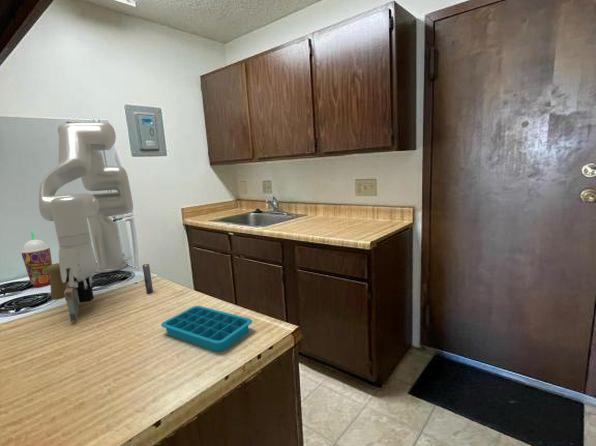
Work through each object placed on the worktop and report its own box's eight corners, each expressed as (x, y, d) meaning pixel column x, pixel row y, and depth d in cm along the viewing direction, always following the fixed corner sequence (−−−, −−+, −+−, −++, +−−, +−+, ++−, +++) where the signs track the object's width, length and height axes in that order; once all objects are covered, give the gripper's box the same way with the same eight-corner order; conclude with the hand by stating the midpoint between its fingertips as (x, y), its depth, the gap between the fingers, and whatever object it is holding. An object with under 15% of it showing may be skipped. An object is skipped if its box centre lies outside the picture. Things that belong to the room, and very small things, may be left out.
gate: (74, 298, 100) (69, 274, 99) (80, 297, 101) (76, 273, 99) (70, 321, 84) (64, 293, 83) (77, 320, 85) (71, 292, 83)
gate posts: (76, 298, 103) (71, 270, 101) (154, 290, 105) (150, 263, 103) (72, 301, 101) (66, 272, 99) (151, 293, 103) (147, 265, 101)
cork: (77, 291, 109) (71, 261, 107) (62, 299, 103) (56, 266, 101) (61, 292, 109) (55, 261, 107) (46, 299, 103) (39, 267, 101)
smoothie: (32, 290, 113) (20, 235, 109) (26, 286, 118) (14, 233, 114) (60, 282, 119) (49, 230, 116) (53, 278, 124) (42, 229, 121)
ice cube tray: (197, 315, 87) (196, 304, 86) (255, 331, 76) (254, 319, 76) (160, 335, 77) (158, 324, 76) (220, 357, 66) (219, 344, 66)
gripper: (76, 235, 96) (87, 291, 100) (42, 248, 82) (57, 313, 85) (102, 233, 97) (112, 289, 101) (73, 246, 82) (86, 311, 86)
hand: (86, 300), depth 93 cm, fingers closed
